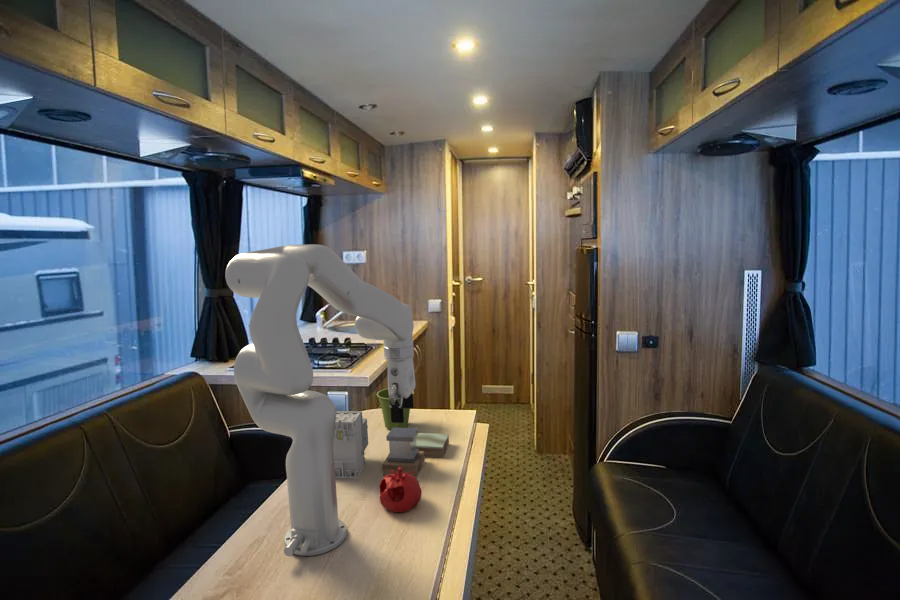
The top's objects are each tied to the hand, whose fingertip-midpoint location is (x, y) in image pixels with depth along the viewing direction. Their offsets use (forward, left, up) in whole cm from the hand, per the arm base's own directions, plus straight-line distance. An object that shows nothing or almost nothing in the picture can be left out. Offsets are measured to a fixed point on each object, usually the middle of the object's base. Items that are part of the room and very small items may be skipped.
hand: (402, 414), depth 140 cm
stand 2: (+11, -4, -15) cm, 19 cm away
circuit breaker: (-1, +15, -15) cm, 21 cm away
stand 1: (-1, 0, -15) cm, 15 cm away
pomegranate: (-19, -4, -15) cm, 24 cm away
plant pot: (+27, +10, -15) cm, 33 cm away
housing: (-1, 0, -12) cm, 12 cm away
